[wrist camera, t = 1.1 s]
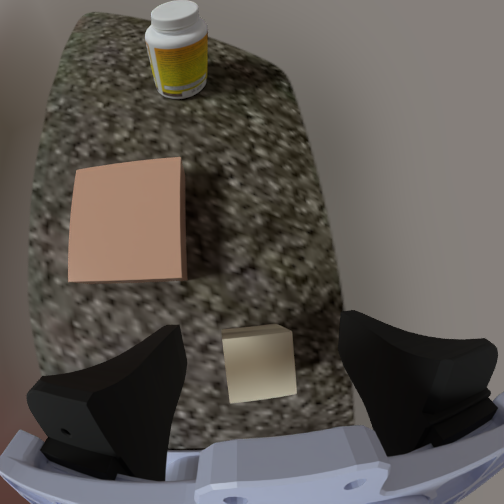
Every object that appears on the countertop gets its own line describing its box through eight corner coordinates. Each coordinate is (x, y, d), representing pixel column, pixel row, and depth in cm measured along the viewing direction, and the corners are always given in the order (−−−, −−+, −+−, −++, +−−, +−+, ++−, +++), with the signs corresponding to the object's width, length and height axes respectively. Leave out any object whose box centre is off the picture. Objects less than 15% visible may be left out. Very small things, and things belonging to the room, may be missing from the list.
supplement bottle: (218, 84, 25) (222, 9, 15) (174, 110, 24) (161, 32, 14) (188, 61, 25) (184, -9, 15) (147, 84, 24) (130, 13, 14)
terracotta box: (188, 280, 22) (181, 277, 18) (90, 284, 21) (68, 281, 17) (185, 177, 23) (180, 157, 19) (94, 187, 22) (76, 170, 18)
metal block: (280, 374, 22) (296, 393, 17) (227, 381, 21) (230, 403, 16) (276, 323, 22) (292, 331, 17) (221, 329, 22) (222, 339, 17)
